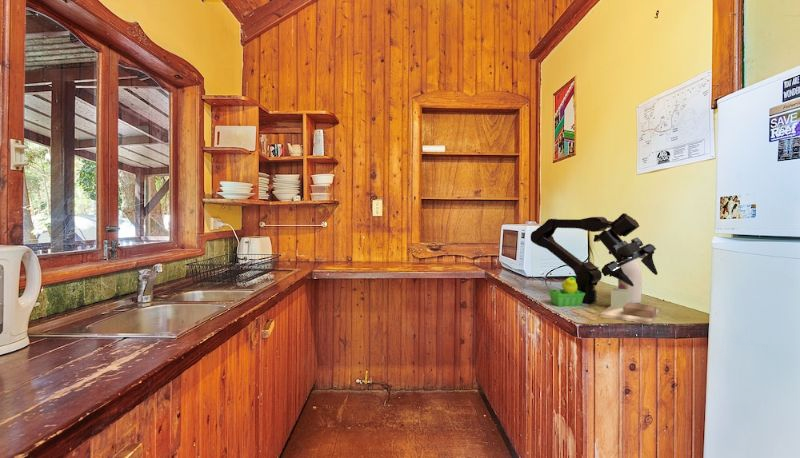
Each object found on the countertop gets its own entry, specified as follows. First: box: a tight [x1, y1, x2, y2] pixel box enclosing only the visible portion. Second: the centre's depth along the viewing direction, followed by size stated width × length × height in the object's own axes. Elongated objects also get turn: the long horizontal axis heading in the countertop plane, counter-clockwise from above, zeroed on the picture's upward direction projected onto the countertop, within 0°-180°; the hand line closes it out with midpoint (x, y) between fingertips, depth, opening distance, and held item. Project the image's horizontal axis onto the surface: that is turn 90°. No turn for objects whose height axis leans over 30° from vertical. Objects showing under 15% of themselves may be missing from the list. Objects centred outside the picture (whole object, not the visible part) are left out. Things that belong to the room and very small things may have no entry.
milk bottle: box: [617, 252, 643, 304], centre depth 139 cm, size 8×8×20 cm
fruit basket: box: [547, 276, 585, 307], centre depth 135 cm, size 11×9×11 cm
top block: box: [610, 287, 630, 309], centre depth 128 cm, size 5×5×6 cm
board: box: [599, 305, 662, 325], centre depth 122 cm, size 14×22×1 cm, turn 137°
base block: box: [623, 303, 657, 319], centre depth 118 cm, size 8×8×2 cm
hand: (645, 280), depth 123 cm, fingers open, 9 cm apart
